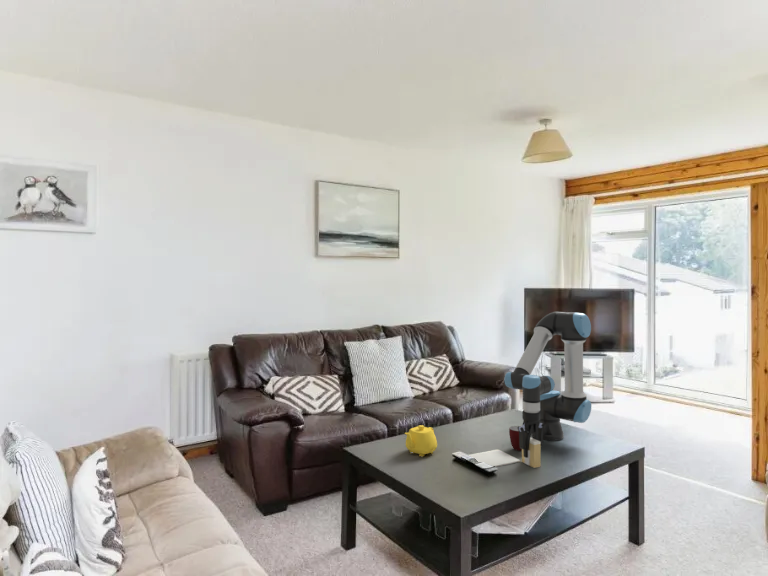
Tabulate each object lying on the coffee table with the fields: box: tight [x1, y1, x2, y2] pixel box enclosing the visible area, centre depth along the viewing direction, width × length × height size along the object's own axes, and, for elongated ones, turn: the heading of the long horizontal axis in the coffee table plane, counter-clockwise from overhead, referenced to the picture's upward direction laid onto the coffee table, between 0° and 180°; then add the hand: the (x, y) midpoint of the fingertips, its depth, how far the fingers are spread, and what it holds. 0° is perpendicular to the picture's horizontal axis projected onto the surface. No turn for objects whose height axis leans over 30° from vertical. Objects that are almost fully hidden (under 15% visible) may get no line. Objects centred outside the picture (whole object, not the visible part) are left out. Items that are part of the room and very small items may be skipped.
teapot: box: [404, 424, 438, 458], centre depth 234 cm, size 14×20×13 cm
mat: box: [468, 449, 522, 468], centre depth 226 cm, size 21×16×1 cm
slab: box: [521, 436, 542, 469], centre depth 220 cm, size 4×8×11 cm, turn 25°
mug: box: [508, 425, 525, 452], centre depth 238 cm, size 10×8×10 cm
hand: (531, 463), depth 220 cm, fingers open, 4 cm apart
